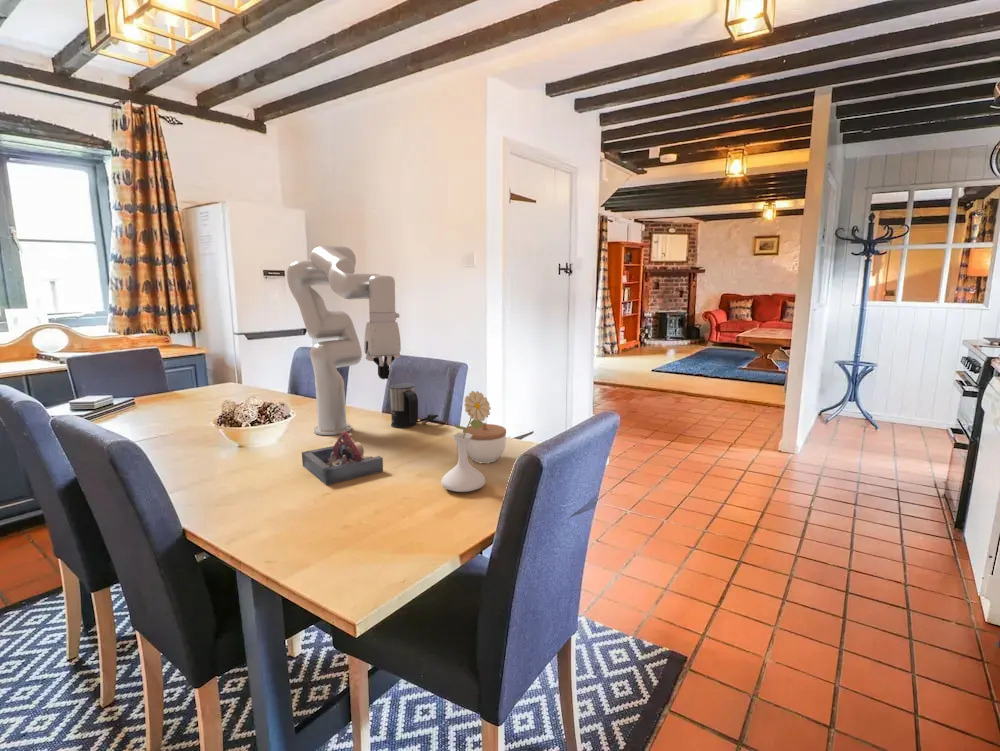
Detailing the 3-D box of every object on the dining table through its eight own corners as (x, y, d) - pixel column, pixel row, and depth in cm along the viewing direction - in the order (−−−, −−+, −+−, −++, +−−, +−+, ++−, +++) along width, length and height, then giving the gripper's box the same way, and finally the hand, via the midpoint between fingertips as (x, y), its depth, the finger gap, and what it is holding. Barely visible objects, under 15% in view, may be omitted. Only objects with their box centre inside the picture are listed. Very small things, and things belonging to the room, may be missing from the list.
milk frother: (385, 425, 195) (383, 385, 193) (415, 416, 208) (414, 378, 205) (413, 432, 187) (412, 390, 185) (443, 422, 200) (442, 382, 197)
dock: (302, 465, 155) (301, 452, 154) (355, 454, 164) (355, 441, 164) (326, 485, 140) (325, 470, 139) (383, 471, 150) (382, 457, 149)
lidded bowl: (454, 460, 159) (453, 423, 157) (484, 449, 168) (484, 415, 166) (485, 470, 150) (484, 432, 148) (515, 458, 159) (515, 422, 157)
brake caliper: (313, 464, 149) (332, 424, 153) (340, 477, 157) (357, 439, 161) (341, 472, 143) (360, 431, 147) (367, 485, 151) (385, 446, 155)
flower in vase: (449, 499, 131) (446, 398, 126) (435, 483, 141) (432, 389, 136) (498, 490, 136) (498, 393, 131) (482, 475, 146) (480, 385, 142)
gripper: (399, 315, 167) (400, 373, 171) (353, 317, 158) (355, 378, 162) (411, 318, 161) (411, 377, 165) (363, 320, 152) (365, 383, 156)
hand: (383, 378), depth 164 cm, fingers closed
